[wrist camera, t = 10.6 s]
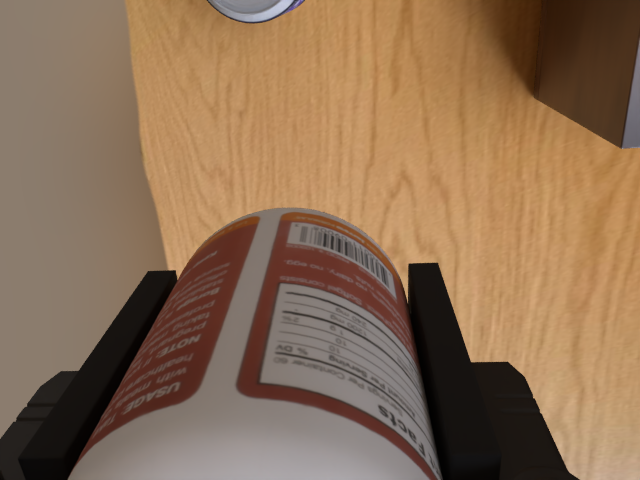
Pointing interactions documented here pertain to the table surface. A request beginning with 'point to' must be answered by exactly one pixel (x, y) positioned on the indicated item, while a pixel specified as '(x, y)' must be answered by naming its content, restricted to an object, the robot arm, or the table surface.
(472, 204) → the table surface
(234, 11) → the beverage can
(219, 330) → the pill bottle
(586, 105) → the chest
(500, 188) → the table surface
